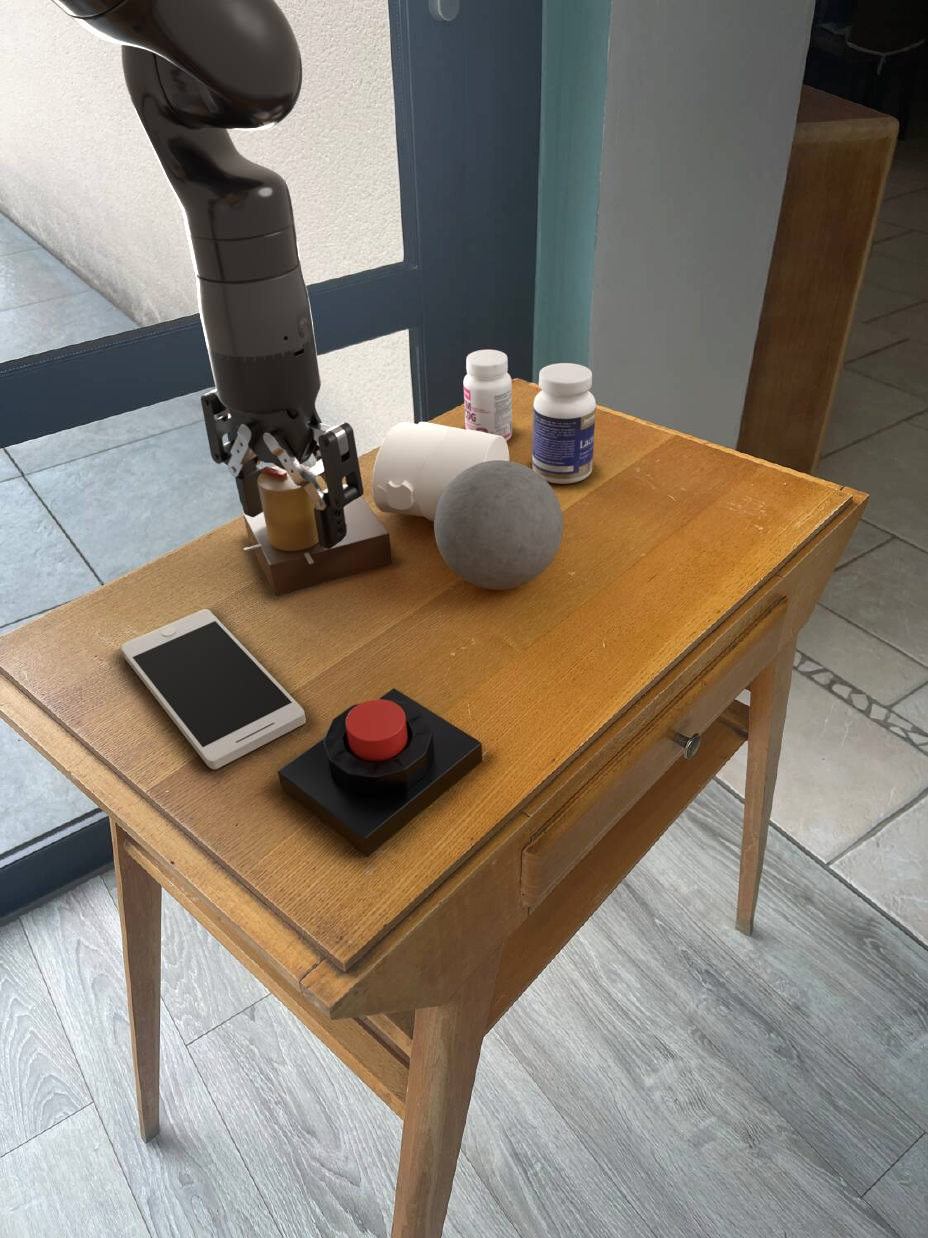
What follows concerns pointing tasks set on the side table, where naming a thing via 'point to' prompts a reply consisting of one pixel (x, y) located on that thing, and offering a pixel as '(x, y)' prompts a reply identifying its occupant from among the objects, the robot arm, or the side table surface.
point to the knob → (286, 511)
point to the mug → (427, 464)
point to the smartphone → (212, 688)
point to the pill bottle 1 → (488, 393)
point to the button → (376, 730)
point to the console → (322, 551)
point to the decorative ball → (498, 525)
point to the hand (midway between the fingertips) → (294, 527)
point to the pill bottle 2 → (564, 424)
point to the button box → (380, 776)
